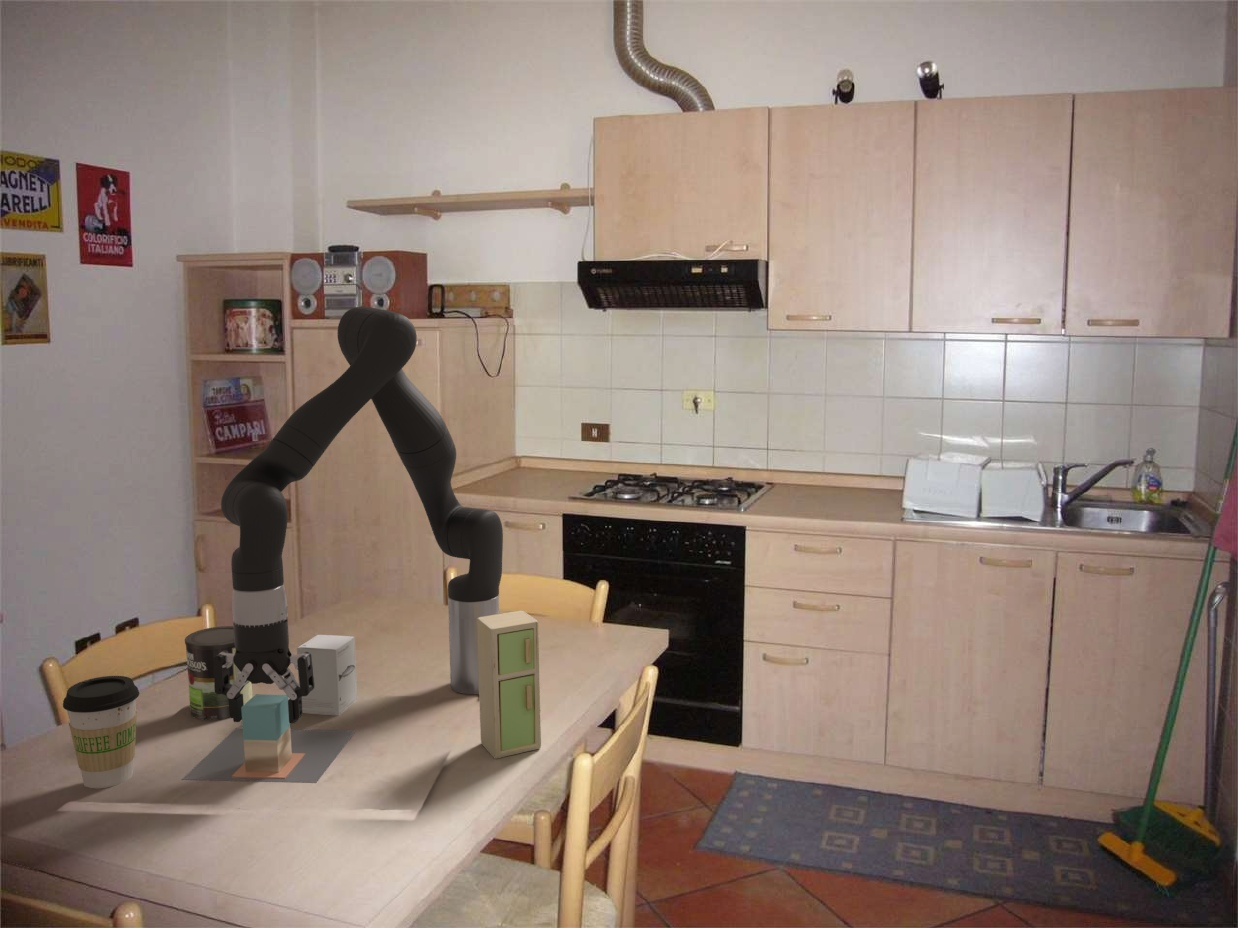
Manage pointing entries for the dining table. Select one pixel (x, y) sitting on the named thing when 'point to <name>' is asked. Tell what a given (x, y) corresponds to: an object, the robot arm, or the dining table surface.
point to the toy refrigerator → (509, 683)
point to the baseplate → (305, 766)
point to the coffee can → (210, 672)
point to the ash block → (268, 754)
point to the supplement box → (330, 674)
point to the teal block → (265, 717)
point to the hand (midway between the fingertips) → (266, 720)
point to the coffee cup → (103, 728)
